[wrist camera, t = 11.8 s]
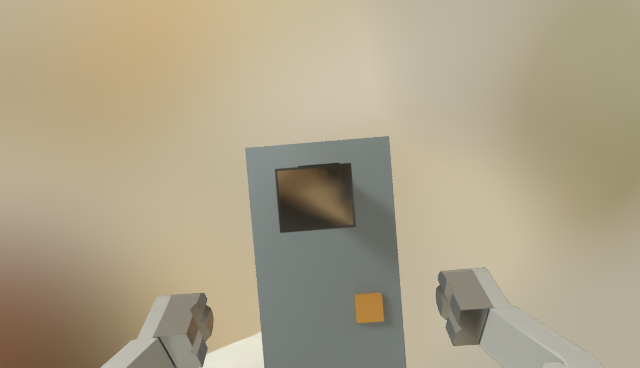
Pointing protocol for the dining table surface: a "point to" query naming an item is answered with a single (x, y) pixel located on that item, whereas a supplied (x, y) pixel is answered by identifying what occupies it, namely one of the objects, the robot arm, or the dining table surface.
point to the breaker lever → (315, 197)
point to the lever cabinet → (328, 264)
